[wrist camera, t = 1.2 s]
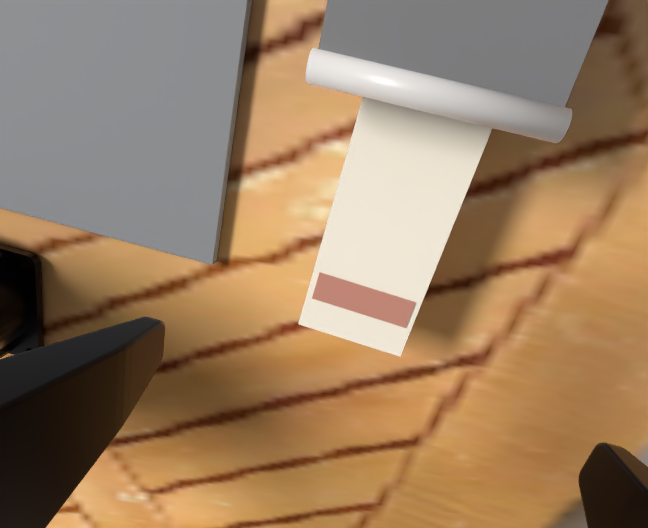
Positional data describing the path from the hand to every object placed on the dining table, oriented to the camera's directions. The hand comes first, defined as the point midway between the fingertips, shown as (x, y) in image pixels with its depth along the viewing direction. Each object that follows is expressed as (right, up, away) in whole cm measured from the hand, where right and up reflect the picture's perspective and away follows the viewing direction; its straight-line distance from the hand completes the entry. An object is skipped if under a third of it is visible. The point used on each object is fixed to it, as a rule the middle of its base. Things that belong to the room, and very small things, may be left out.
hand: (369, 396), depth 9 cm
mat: (-11, +12, +10) cm, 19 cm away
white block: (+2, +7, +10) cm, 13 cm away
